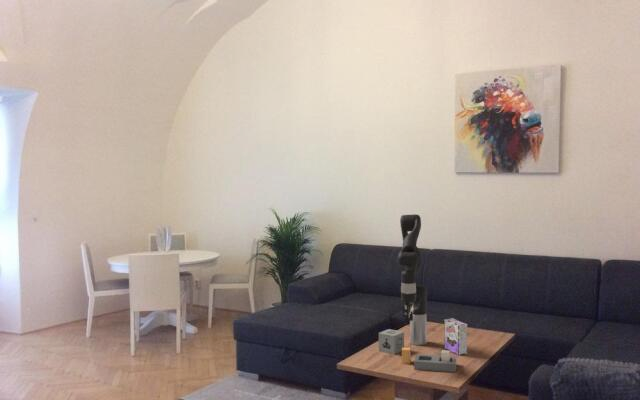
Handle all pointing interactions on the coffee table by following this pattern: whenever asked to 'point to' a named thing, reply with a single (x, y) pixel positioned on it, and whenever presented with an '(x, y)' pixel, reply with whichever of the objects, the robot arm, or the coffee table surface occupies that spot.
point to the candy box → (455, 336)
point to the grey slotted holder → (436, 362)
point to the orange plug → (406, 355)
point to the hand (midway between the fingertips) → (408, 322)
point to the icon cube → (391, 341)
